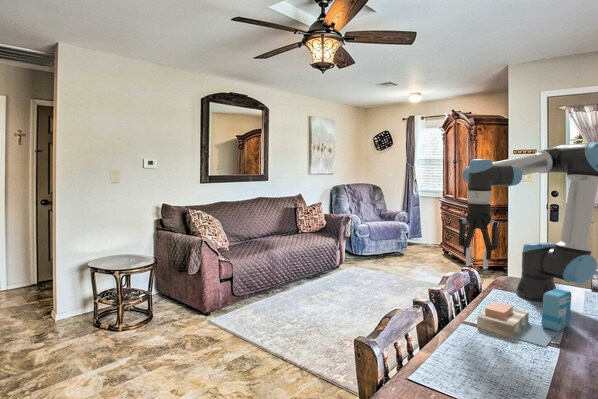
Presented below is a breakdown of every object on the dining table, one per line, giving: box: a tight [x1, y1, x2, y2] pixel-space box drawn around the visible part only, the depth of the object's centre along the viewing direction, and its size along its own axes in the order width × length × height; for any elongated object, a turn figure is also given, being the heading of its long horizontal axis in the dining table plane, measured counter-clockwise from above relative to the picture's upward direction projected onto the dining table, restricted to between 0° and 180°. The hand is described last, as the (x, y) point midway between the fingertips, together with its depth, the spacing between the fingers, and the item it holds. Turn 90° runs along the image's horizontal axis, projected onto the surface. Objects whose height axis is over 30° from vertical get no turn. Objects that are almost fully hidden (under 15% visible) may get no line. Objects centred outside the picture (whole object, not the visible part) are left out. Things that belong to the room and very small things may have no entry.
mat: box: [512, 321, 560, 348], centre depth 122 cm, size 17×9×1 cm, turn 134°
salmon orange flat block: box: [484, 301, 514, 319], centre depth 130 cm, size 9×6×2 cm, turn 134°
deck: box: [476, 307, 530, 339], centre depth 129 cm, size 17×11×4 cm, turn 134°
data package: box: [541, 288, 572, 333], centre depth 127 cm, size 12×4×12 cm, turn 127°
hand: (476, 266), depth 135 cm, fingers open, 5 cm apart
